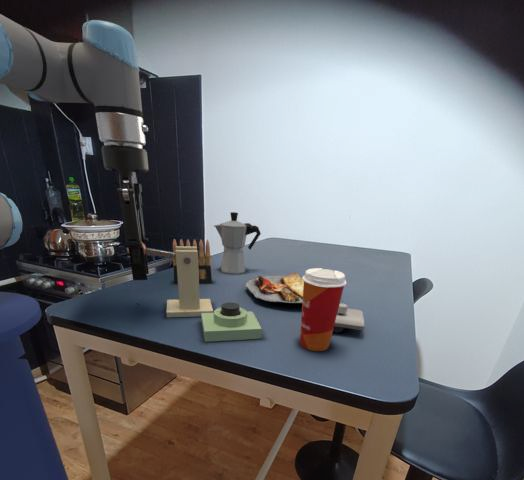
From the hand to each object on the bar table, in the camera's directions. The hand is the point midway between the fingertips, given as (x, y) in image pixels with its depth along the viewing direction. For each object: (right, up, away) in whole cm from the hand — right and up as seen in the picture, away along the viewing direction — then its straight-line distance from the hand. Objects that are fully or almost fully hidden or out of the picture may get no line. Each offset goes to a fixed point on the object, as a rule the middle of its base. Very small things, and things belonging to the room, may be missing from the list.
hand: (141, 276), depth 67 cm
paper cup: (+36, -15, -6) cm, 39 cm away
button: (+19, -8, -4) cm, 21 cm away
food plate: (+33, -1, +20) cm, 39 cm away
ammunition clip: (+6, +4, +25) cm, 26 cm away
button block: (+19, -12, -2) cm, 23 cm away
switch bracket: (+9, -6, +6) cm, 12 cm away
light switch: (+43, -11, +3) cm, 44 cm away
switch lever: (+4, +3, 0) cm, 5 cm away
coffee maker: (+17, +11, +39) cm, 44 cm away
